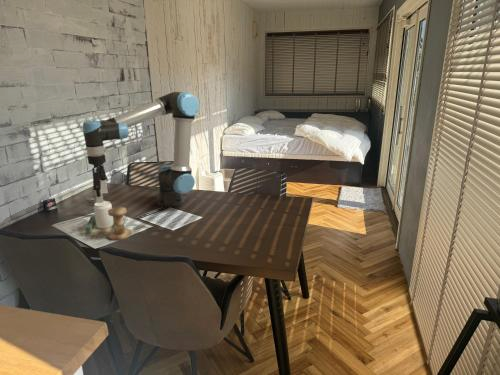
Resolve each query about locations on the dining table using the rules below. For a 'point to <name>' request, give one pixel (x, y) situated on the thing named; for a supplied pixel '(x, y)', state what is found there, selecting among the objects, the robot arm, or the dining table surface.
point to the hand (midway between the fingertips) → (102, 197)
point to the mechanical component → (91, 201)
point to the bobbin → (118, 224)
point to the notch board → (93, 230)
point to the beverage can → (103, 215)
